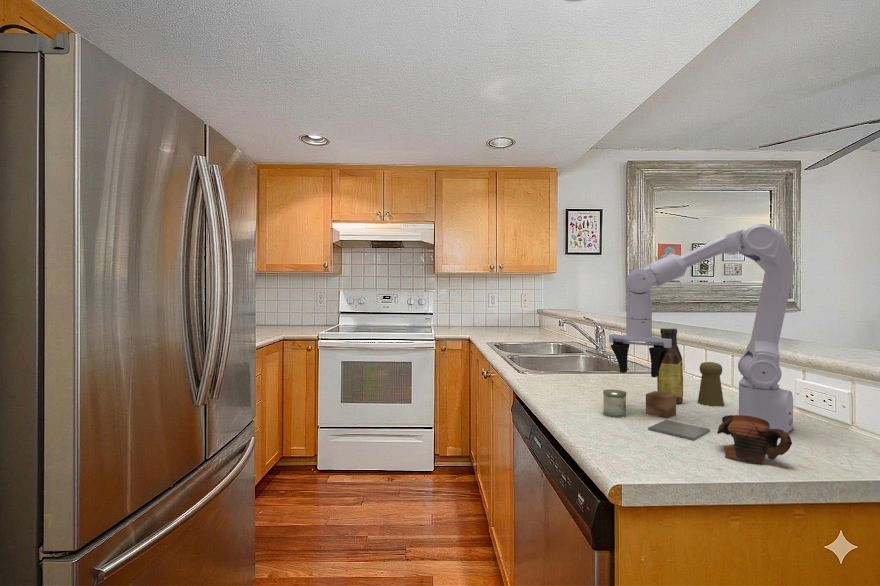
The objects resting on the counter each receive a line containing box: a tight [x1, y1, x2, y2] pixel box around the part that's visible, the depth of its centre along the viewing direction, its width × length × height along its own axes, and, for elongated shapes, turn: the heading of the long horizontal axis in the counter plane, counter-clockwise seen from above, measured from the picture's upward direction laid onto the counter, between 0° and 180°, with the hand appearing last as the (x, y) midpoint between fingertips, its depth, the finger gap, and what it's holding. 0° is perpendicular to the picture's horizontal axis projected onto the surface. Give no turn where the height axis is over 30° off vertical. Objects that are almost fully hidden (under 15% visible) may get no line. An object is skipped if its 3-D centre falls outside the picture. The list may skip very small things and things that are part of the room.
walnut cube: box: [645, 390, 677, 420], centre depth 106 cm, size 5×5×5 cm
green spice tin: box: [602, 388, 627, 419], centre depth 106 cm, size 5×5×6 cm
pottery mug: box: [716, 414, 793, 465], centre depth 79 cm, size 12×10×8 cm
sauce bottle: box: [656, 327, 684, 405], centre depth 119 cm, size 7×6×20 cm
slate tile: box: [647, 419, 711, 441], centre depth 93 cm, size 9×9×1 cm
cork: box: [697, 361, 725, 407], centre depth 117 cm, size 6×6×11 cm
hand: (638, 374), depth 107 cm, fingers open, 7 cm apart
